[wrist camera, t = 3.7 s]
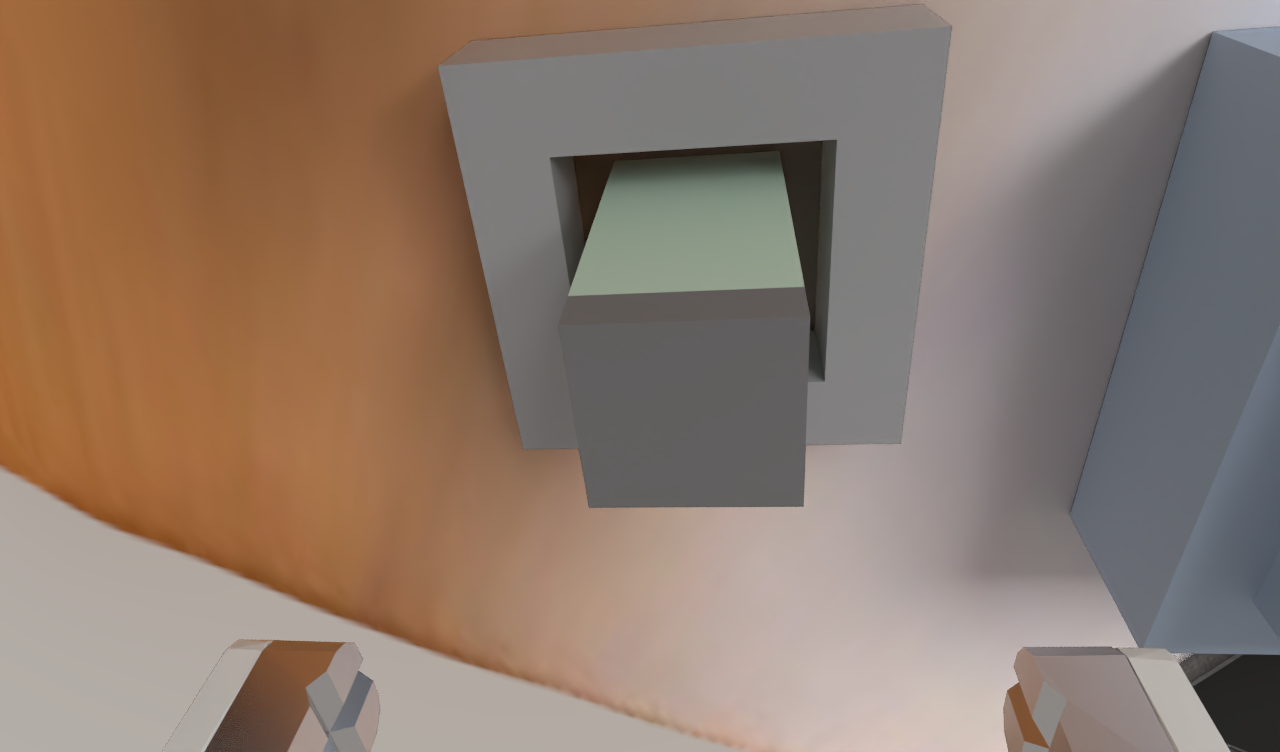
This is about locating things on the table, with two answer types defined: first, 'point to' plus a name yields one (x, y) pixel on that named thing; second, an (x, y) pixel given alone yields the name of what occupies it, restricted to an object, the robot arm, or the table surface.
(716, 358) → the plug block
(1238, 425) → the raised dock
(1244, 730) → the phone
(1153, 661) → the robot arm
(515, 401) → the low socket
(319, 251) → the table surface
